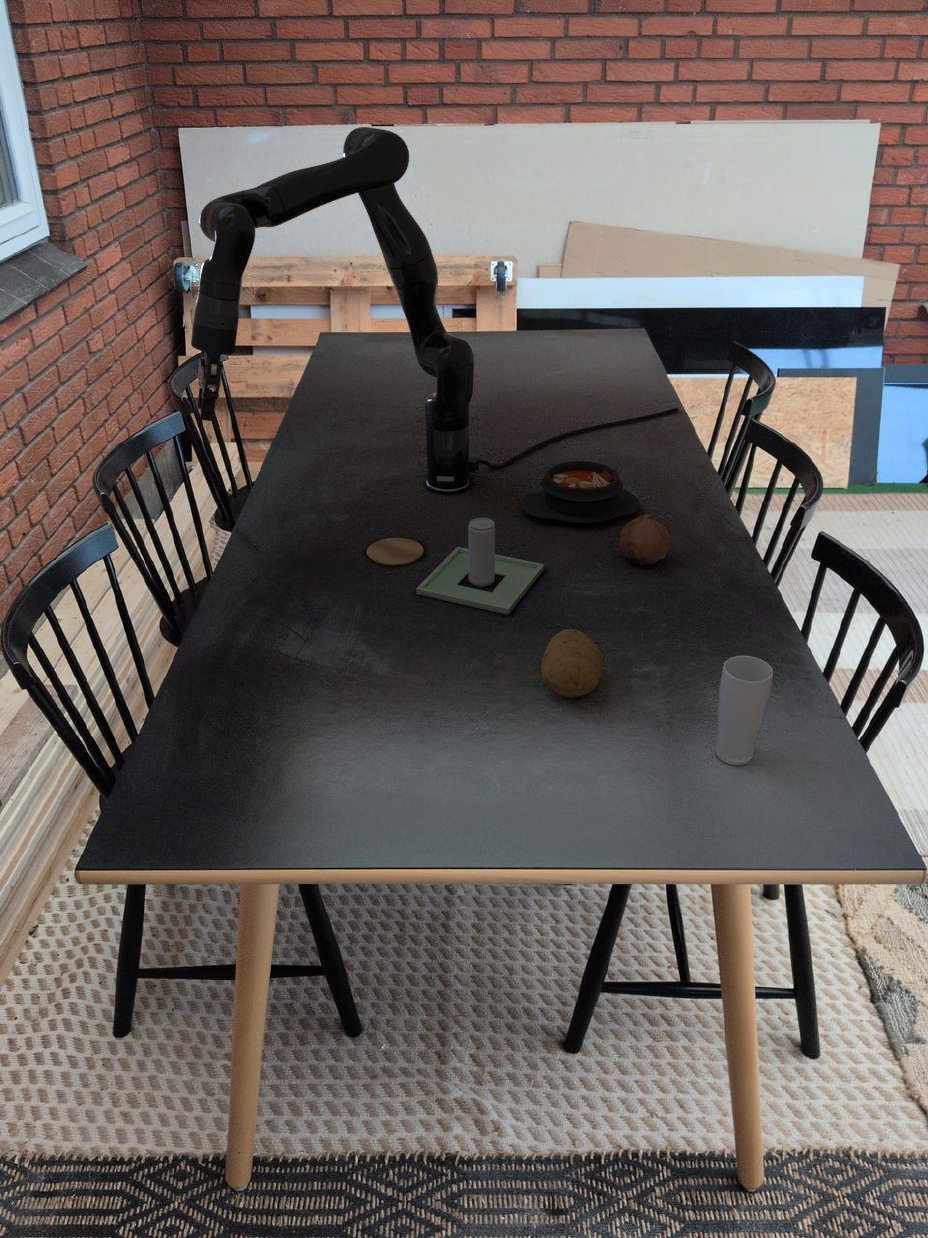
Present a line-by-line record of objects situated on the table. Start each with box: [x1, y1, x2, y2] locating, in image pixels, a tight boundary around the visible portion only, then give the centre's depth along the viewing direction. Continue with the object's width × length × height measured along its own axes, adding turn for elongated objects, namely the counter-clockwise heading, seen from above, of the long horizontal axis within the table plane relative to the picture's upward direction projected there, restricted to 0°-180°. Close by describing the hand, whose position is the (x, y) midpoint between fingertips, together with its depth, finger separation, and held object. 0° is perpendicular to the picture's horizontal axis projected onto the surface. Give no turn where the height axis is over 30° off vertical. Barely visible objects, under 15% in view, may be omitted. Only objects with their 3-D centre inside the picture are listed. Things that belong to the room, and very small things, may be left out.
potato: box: [540, 628, 604, 698], centre depth 161 cm, size 10×14×8 cm
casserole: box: [520, 460, 641, 524], centre depth 215 cm, size 25×19×8 cm
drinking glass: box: [714, 655, 774, 766], centre depth 144 cm, size 7×7×15 cm
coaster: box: [366, 537, 424, 566], centre depth 201 cm, size 11×11×1 cm
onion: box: [619, 513, 671, 567], centre depth 196 cm, size 10×9×10 cm
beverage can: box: [467, 517, 496, 588], centre depth 188 cm, size 5×5×12 cm
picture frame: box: [415, 546, 545, 616], centre depth 191 cm, size 18×18×1 cm
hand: (204, 414), depth 185 cm, fingers open, 8 cm apart
